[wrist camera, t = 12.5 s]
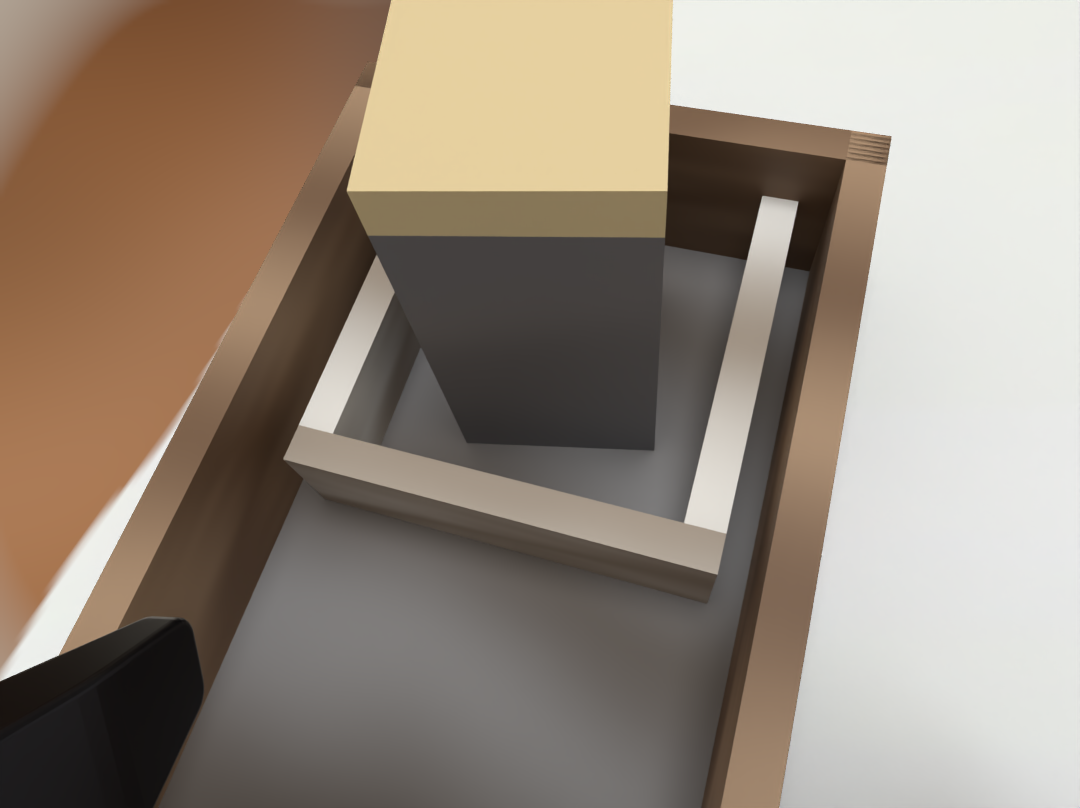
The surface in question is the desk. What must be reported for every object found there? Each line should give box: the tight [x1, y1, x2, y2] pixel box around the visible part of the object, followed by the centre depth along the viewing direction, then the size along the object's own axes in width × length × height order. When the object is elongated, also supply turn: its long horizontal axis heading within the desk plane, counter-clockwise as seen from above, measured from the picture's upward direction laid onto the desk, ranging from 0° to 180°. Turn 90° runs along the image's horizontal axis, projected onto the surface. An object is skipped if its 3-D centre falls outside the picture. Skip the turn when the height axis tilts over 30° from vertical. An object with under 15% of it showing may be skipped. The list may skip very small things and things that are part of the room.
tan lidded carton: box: [347, 0, 673, 451], centre depth 16 cm, size 4×4×9 cm
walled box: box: [59, 62, 892, 808], centre depth 17 cm, size 20×12×4 cm, turn 163°
